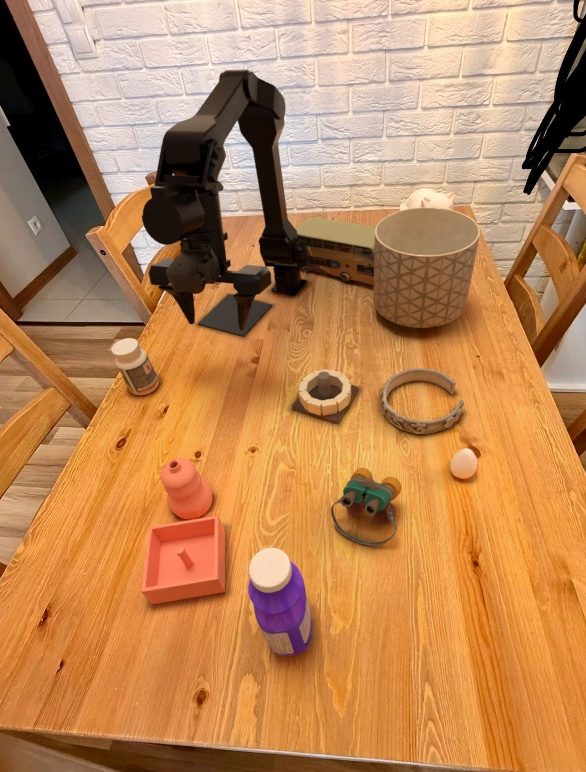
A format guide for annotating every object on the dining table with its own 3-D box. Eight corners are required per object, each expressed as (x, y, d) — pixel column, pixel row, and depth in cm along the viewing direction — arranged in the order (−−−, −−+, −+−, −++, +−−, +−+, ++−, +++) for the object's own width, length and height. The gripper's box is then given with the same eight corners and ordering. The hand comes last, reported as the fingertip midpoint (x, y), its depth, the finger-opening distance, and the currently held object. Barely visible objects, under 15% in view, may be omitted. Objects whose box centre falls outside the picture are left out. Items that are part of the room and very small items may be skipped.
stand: (314, 377, 87) (312, 352, 82) (358, 389, 84) (358, 365, 79) (292, 409, 82) (287, 385, 77) (338, 424, 78) (336, 399, 74)
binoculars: (397, 539, 66) (413, 476, 63) (381, 572, 58) (397, 502, 55) (337, 517, 69) (349, 456, 66) (313, 546, 61) (326, 478, 58)
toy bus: (377, 291, 104) (376, 249, 97) (293, 272, 114) (287, 233, 107) (397, 270, 109) (397, 228, 102) (315, 253, 119) (310, 215, 112)
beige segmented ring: (313, 374, 86) (312, 364, 84) (359, 387, 83) (359, 377, 81) (290, 406, 81) (289, 396, 79) (338, 421, 78) (337, 411, 76)
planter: (361, 330, 95) (361, 248, 82) (387, 281, 107) (391, 202, 93) (454, 347, 90) (470, 262, 76) (471, 294, 101) (487, 212, 88)
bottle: (267, 600, 59) (240, 536, 46) (311, 595, 59) (296, 530, 46) (267, 662, 54) (238, 609, 41) (315, 657, 54) (300, 602, 41)
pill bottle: (163, 376, 90) (145, 335, 83) (153, 397, 86) (134, 356, 79) (136, 375, 91) (116, 335, 84) (125, 396, 87) (103, 356, 80)
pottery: (225, 591, 60) (206, 559, 53) (152, 604, 60) (123, 572, 53) (224, 479, 72) (209, 440, 65) (164, 489, 72) (142, 450, 65)
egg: (472, 485, 68) (479, 463, 64) (447, 478, 70) (452, 456, 66) (476, 465, 71) (482, 443, 67) (451, 459, 72) (456, 437, 68)
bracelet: (404, 369, 86) (405, 356, 84) (474, 396, 81) (477, 383, 78) (366, 415, 79) (366, 403, 77) (439, 448, 73) (442, 436, 71)
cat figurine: (388, 230, 123) (391, 163, 111) (427, 225, 124) (434, 158, 111) (414, 280, 106) (421, 207, 94) (458, 273, 107) (471, 201, 94)
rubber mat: (228, 295, 108) (228, 294, 108) (272, 305, 104) (272, 304, 103) (198, 324, 101) (197, 323, 101) (243, 337, 97) (243, 335, 96)
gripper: (115, 237, 64) (140, 340, 73) (238, 246, 60) (249, 354, 69) (159, 220, 73) (177, 314, 82) (269, 227, 69) (275, 325, 77)
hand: (216, 326), depth 77 cm, fingers open, 9 cm apart
